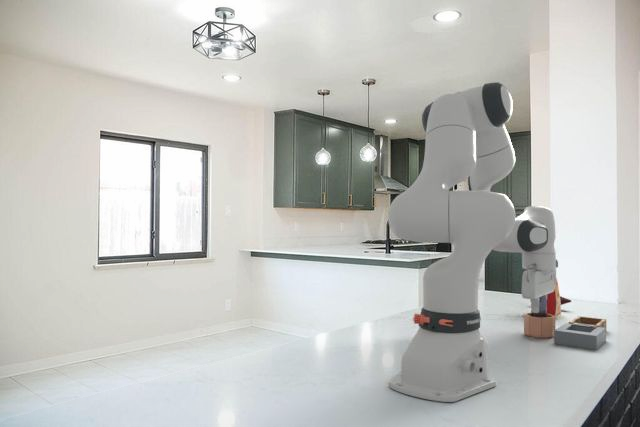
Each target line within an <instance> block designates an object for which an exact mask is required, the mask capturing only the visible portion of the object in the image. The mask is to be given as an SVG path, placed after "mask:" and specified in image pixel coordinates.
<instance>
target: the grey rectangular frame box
mask: <svg viewBox="0 0 640 427" xmlns="http://www.w3.org/2000/svg"><path fill="white" fill-rule="evenodd" d="M553 338H554V340H553V341H554V342H553V343H556V345H561V344H562V346H563V345H564V346H568V347H569V346H570V347H575V348H576V347H577V348H582V349H583V348H584V349H589V350H598V349H599V348H600V347H601V346H603V344H605V342H607V327H606V328H602V327H597V326H594V325H585V324H577V323H573V324H569V322H565V323H563V324H562V325H560V326H559V327H557V328H555V330H554V337H553Z"/></svg>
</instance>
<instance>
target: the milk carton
mask: <svg viewBox="0 0 640 427" xmlns="http://www.w3.org/2000/svg"><path fill="white" fill-rule="evenodd" d="M560 296H561V294H560V289H559V284H558V279H557V277H556V284H555V290H554V292H551V293H549V294H547V314H551V315H554V316H555V320H558V319H559V318H560V317H561V316H562V305H561V300H560Z"/></svg>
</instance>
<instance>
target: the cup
mask: <svg viewBox="0 0 640 427" xmlns="http://www.w3.org/2000/svg"><path fill="white" fill-rule="evenodd" d="M554 330H556V319H555V316H554V315H551V314H547V317H542V318H541V317H532V316H531V312H526V313H524V314H523V333H524V335H525V336H527V337H531V338H539V339H550V338H551V339H552V338H554Z"/></svg>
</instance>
